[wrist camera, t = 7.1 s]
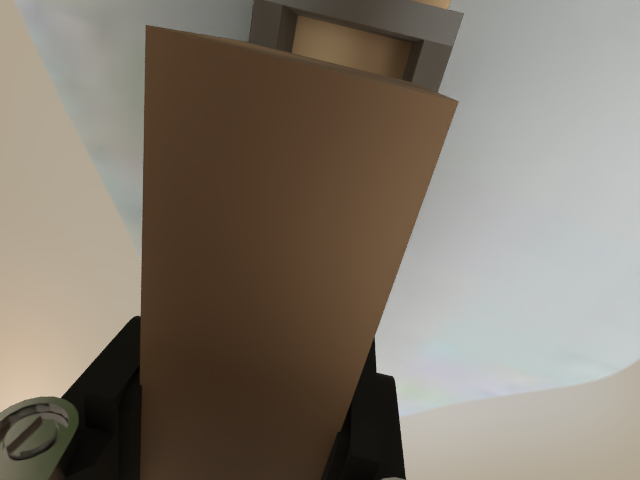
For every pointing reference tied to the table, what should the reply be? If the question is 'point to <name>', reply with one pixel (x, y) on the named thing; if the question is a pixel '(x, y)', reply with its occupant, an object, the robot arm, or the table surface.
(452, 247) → the table surface
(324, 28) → the rail
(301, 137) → the slat
